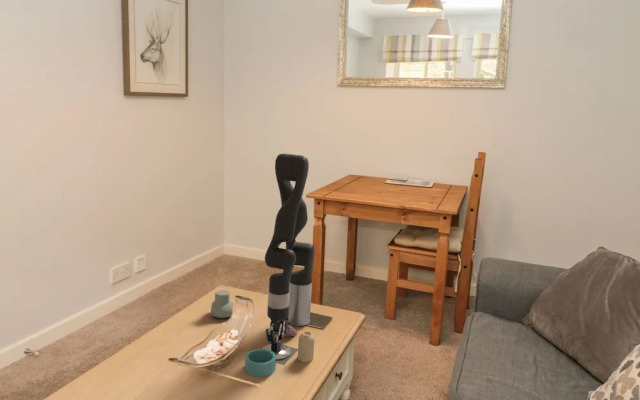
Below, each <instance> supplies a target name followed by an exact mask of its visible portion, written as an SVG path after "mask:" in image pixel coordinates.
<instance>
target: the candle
mask: <svg viewBox="0 0 640 400" xmlns="http://www.w3.org/2000/svg"><path fill="white" fill-rule="evenodd" d="M297 346H298V347H297V349H298V351H297V359H298V361H299V362H302V363H310V362H312V361H313V360H314V354H315V336H314V334H312V333H311V332H310V331H304V332H302V333H301V334H300V335H299V336H298V345H297Z"/></svg>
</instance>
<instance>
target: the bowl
mask: <svg viewBox="0 0 640 400" xmlns="http://www.w3.org/2000/svg"><path fill="white" fill-rule="evenodd" d="M244 357H245V361H244V363H245V364H244V365H245V366H244V370H245V372H246V373H247V374H248V375H249V376H252V377H256V378H264V377H268V376H270V375H273V374H274V373H275V372H276V369H277V368H276V366H277V365H276V364H277V363H276V354H275V353H273V352H272V351H270V350H266V349H262V348H257V349H253V350H250V351H248V352H247V353H246V354H245V356H244Z"/></svg>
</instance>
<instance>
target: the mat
mask: <svg viewBox="0 0 640 400" xmlns="http://www.w3.org/2000/svg"><path fill="white" fill-rule="evenodd" d="M269 344H271V342H268V341H267V343H265V345H264V346H266V345H269ZM288 347H289V348H290V349H291V355H290V356H289V357H288V358H286V359H282V360H276V364H280V365H283V366H285V365H286V364H287V363H288V361H289V360H291V358H292V357H293V356H294V355H296V353H298V348H295V347H292V346H288Z"/></svg>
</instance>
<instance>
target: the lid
mask: <svg viewBox="0 0 640 400" xmlns="http://www.w3.org/2000/svg"><path fill="white" fill-rule="evenodd" d="M275 339H276V337H275ZM281 341H282V342H283V339H282V340H281V339H279V338H278V350H277V352H274V351H272V352H273V353H275V354H276V360H282V359H286V358H288V357H289V356H290V355H291V349H290V348H289V347H290V346H288V345H286V344H285V343H284V344H283V343H282V347H281ZM265 345H266V344H265ZM265 345H264V346H262V347H261V349H266V350H270V351H271V344H269V345H266V346H265Z"/></svg>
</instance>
